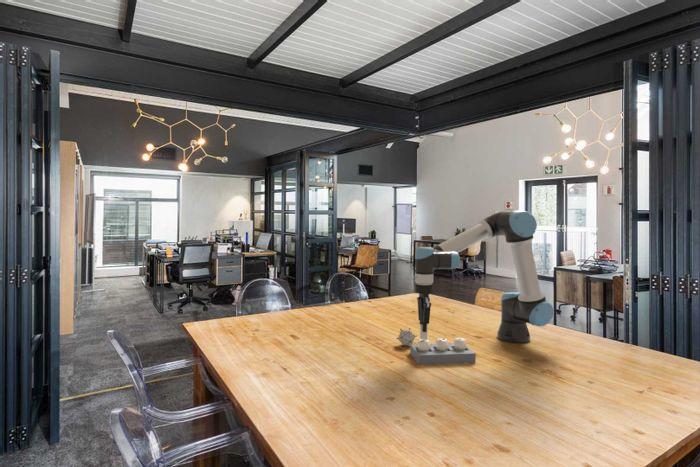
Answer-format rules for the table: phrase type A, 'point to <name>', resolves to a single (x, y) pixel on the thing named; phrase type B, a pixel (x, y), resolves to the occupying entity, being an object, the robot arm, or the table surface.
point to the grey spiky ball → (406, 337)
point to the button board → (442, 355)
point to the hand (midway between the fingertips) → (423, 338)
